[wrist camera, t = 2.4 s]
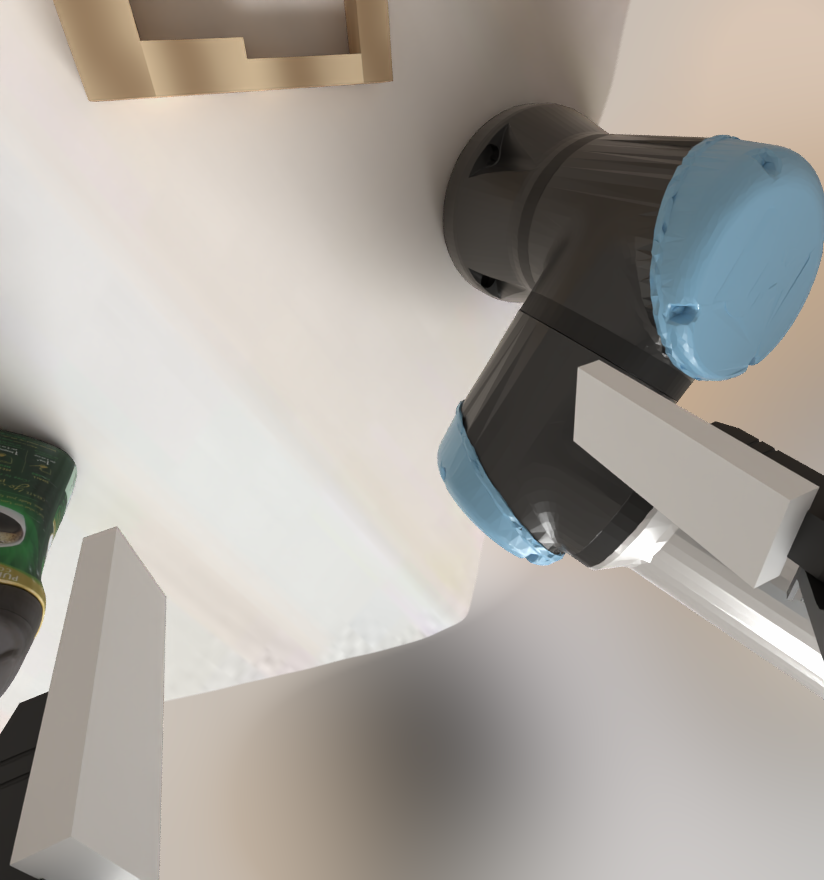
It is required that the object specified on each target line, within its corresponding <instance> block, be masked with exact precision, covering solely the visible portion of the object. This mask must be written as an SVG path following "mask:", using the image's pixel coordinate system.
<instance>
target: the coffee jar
mask: <svg viewBox="0 0 824 880" xmlns="http://www.w3.org/2000/svg"><path fill="white" fill-rule="evenodd" d="M76 477H77V469H76V465H75V463H74V461H73V459H72V458H71V457H70V456H69V455H68V454H67V453H66V452H64V451H63V450H61V449H59V448H57V447H55V446H52V445H50V444H48V443H45V442H42V441H40V440H36V439H34V438H30V437H27V436H24V435H20V434H16V433H13V432H9V431H4V430H0V697H1V696H2V695H3V694H4V692H5V691H6V690H7V688H8V687H9V686H10V684H11V682H12V681H13V679H14V678H15V676H16V674H17V673H18V671H19V669H20V667H21V665H22V663H23V661H24V659H25V657H26V655H27V653H28V651H29V649H30V647H31V645H32V643H33V640H34V638H35V637H36V635H37V634H38V632H39V629H40V627H41V625H42V622H43V619H44V614H45V608H46V597H45V592H44V589H43V586H42V582H41V575H42V571H43V567H44V563H45V560H46V557H47V554H48V551H49V549H50V546H51V544H52V541H53V539H54V537H55V535H56V532H57V530H58V528H59V525H60V523H61V521H62V519H63V516H64V514H65V512H66V509H67V507H68V504H69V501H70V499H71V496H72V493H73V489H74V486H75V481H76Z"/></svg>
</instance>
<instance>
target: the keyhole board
mask: <svg viewBox="0 0 824 880" xmlns="http://www.w3.org/2000/svg"><path fill="white" fill-rule="evenodd" d="M53 2H54V5H55V7H56V10H57V13H58V16H59V19H60V22H61V24H62V27H63V30H64V33H65V36H66V38H67V41H68V44H69V47H70V50H71V52H72V55H73V58H74V61H75V64H76V66H77V69H78V72H79V75H80V78H81V81H82V83H83V86H84V89H85V92H86V95H87V97H88V100H89V101H93V102H97V101H113V100H128V99H143V98H158V97H173V96H188V95H204V94H219V93H234V92H249V91H264V90H279V89H295V88H310V87H325V86H340V85H355V84H370V83H383V82H390V81H393V74H392V59H391V44H390V29H389V14H388V0H344V5H345V15H346V24H347V34H348V43H349V53H350V54H341V55H321V56H300V57H279V58H258V59H247V55H246V50H245V45H244V40H243V37H235V38H207V39H179V40H151V41H141V40H140V37H139V33H138V30H137V26H136V23H135V20H134V16H133V13H132V9H131V6H130V2H129V0H53Z"/></svg>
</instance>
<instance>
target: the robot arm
mask: <svg viewBox="0 0 824 880" xmlns="http://www.w3.org/2000/svg"><path fill="white" fill-rule="evenodd" d="M443 223H444V234H445V240H446V244H447V248H448V251H449V254H450V257H451V259H452V261H453V263H454V265H455V267H456V268H457V270H458V271H459V273H460V274H461V275H462V276H463V278H464V279H465V280H466V281H467V282H468V283H470V284H471V285H472V286H473V287H475V288H477V289H478V290H480V291H482V292H483V293H485V294H487V295H489V296H491V297H493V298H496V299H499V300H502V301H507V302H515V303H521V302H524V304H523V306H522V307H521V309H520V310H519V311H518V313H517V314H516V316H515V318H514V319H513V321H512V323H511V324H510V326H509V328H508V330H507V331H506V333H505V335H504V336H503V338H502V340H501V341H500V343H499V345H498V346H497V348H496V350H495V351H494V353H493V355H492V356H491V358H490V360H489V362H488V363H487V365H486V367H485V368H484V370H483V372H482V373H481V375H480V376H479V378H478V380H477V381H476V383H475V384H474V386H473V388H472V389H471V391H470V393H469V394H468V396H467V397H466V399H465V400H463V401H460V403H459V404H458V406H457V408H456V415H455V417H454V419H453V421H452V423H451V424H450V426H449V428H448V430H447V432H446V434H445V436H444V438H443V439H442V441H441V444H440V446H439V450H438V458H437V459H438V467H439V471H440V475H441V477H442V479H443V481H444V483H445V484H446V487H447V490H448V491H449V493H450V495H451V496H452V498H453V499H454V501H455V502H456V503H457V505H458V506H459V507H460V508H461V510H462V511H463V512H464V513H465V514H466V515H467V516H468V518H469V519H470V520H471V521H472V522H473V523H474V524H475V525H476V526H477V527H478V528H479V529H480V530H481V531H483V532H484V533H485V534H486V535H487V536H488V537H489V538H491V539H492V540H493V541H494V542H496V543H497V544H498V545H500V546H501V547H502V548H504V549H505V550H507V551H508V552H510V553H512V554H513V555H515V556H517V557H519V558H526V559H527V560H528V561H529V562H531V563H533V564H536V565H549V564H552V563H554V562H555V561H558V560H560V559H562V558H563V556H564V554H565V553H568V554H569V555H571V556H572V557H574V558H575V559H577V560H578V561H579V562H581V563H582V564H584V565H585V566H587V567H588V568H590V569H592V570H600V569H607V568H614V567H629V568H630V569H632V570H633V571H635V572H636V573H638V574H639V575H641V576H642V577H643V578H645V579H647V580H648V581H649V582H651V583H652V584H654V585H655V586H657V587H658V588H660V589H661V590H663V591H664V592H666V593H667V594H669V595H670V596H672V597H673V598H675V599H676V600H678V601H679V602H680V603H682V604H683V605H685V606H686V607H688V608H690V609H691V610H692V611H694V612H695V613H697V614H698V615H700V616H701V617H703V618H704V619H706V620H707V621H709V622H710V623H711V624H713V625H715V626H716V627H717V628H719V629H720V630H722V631H723V632H725V633H726V634H728V635H729V636H731V637H732V638H734V639H735V640H737V641H738V642H740V643H741V644H743V645H744V646H746V647H747V648H748V649H750V650H751V651H753V652H754V653H756V654H757V655H759V656H760V657H762V658H763V659H765V660H766V661H768V662H769V663H771V664H772V665H774V666H775V667H776V668H778V669H779V670H781V671H782V672H784V673H785V674H787V675H788V676H790V677H791V678H793V679H794V680H796V681H797V682H799V683H800V684H802V685H803V686H805V687H806V688H807V689H809V690H811V691H812V692H813V693H815V694H816V695H818V696H819V697H821V698H822V699H824V475H822V474H820V473H818V472H816V471H815V470H813V469H811V468H809V467H808V466H806V465H804V464H802V463H800V462H799V461H797V460H795V459H793V458H791V457H790V456H788V455H786V454H784V453H782V452H781V451H779V450H778V451H775V449H774V448H773V447H772V446H770V445H768V444H766V443H764V442H763V441H762V442H759V439H757V438H755V437H754V436H752V435H750V434H748V433H746V432H745V431H743V430H741V429H739V428H736V427H733V426H729V425H726V424H723V423H719V422H713V423H711V424H709V423H708V422H705V421H704V420H702V419H701V418H699V417H697V416H695V415H694V414H692V413H690V412H688V411H687V410H685V409H683V408H682V407H680V406H678V405H676V403H677V402H678V400H679V399H680V398H681V396H682V395H683V394H684V393H685V391H686V390H687V389H688V387H689V386H690V385H691V383H692V382H693V381H694V380H695V379H696V380H699V381H700V380H705V381H709V380H710V381H722V380H727V379H730V378H733V377H737V376H739V375H741V374H743V373H744V372H745V371H746V370H747V367H748V365H755V364H758V363H759V362H760V361H762V360H763V359H764V358H765V357H766V356H767V355H768V354H769V353H770V352H771V351H772V350H773V349H774V348H775V347H776V346H777V344H778V343H779V342H780V341H781V340H782V338H783V337H784V336H785V334H786V333H787V332H788V330H789V329H790V327H791V326H792V324H793V323H794V321H795V319H796V317H797V316H798V314H799V312H800V311H801V309H802V307H803V305H804V303H805V301H806V299H807V297H808V295H809V292H810V290H811V287H812V285H813V283H814V280H815V277H816V274H817V271H818V268H819V265H820V261H821V257H822V253H823V251H822V250H823V242H824V192H823V189H822V185H821V183H820V180H819V178H818V176H817V174H816V172H815V170H814V169H813V168H812V166H811V165H810V164H809V163H808V162H807V161H806V160H805V159H804V158H803V157H802V156H801V155H799V154H798V153H796V152H794V151H792V150H790V149H788V148H785V147H782V146H777V145H771V144H764V143H757V142H751V141H744V140H740V139H738V138H737V137H731V136H729V135H716V136H713V137H711V138H704V137H677V136H650V135H623V134H622V135H620V134H609V133H607V132H606V131H604V130H603V129H602V128H600V127H599V126H598V125H596V124H595V123H593V122H592V121H591V120H589V119H588V118H587V117H585V116H584V115H582V114H581V113H579V112H578V111H576V110H574V109H571V108H569V107H566V106H562V105H558V104H549V103H546V104H525V105H520V106H516V107H513V108H510V109H508V110H506V111H503V112H502V113H500V114H498V115H496V116H495V117H494V118H492V119H491V120H489V121H488V122H487V123H486V124H485V125H484V126H482V127H481V128H480V129H479V130H478V131H477V132H476V134H475V135H474V136H473V137H472V138H471V140H470V141H469V142H468V144H467V145H466V146H465V148H464V150H463V151H462V153H461V155H460V156H459V158H458V160H457V162H456V164H455V167H454V169H453V172H452V174H451V177H450V180H449V183H448V187H447V191H446V196H445V202H444V213H443ZM674 400H675V401H674ZM676 401H677V402H676ZM165 627H166V595H165V594H164V593H163V591H162V590H161V588H160V587H159V585H158V584H157V583H156V581H155V580H154V578H153V577H152V575H151V574H150V573H149V571H148V570H147V568H146V567H145V565H144V564H143V562H142V561H141V560H140V558H139V557H138V555H137V554H136V552H135V551H134V550H133V548H132V547H131V545H130V544H129V542H128V541H127V540H126V538H125V537H124V535H123V534H122V532H121V531H120V530H119V528H118V527H117V526H116V527H113V528H110V529H108V530H105V531H102V532H99V533H96V534H93V535H90V536H87V537H84V538H83V542H82V546H81V550H80V555H79V559H78V564H77V568H76V573H75V577H74V581H73V586H72V590H71V595H70V599H69V604H68V608H67V613H66V617H65V621H64V626H63V630H62V635H61V639H60V644H59V648H58V653H57V657H56V661H55V666H54V670H53V675H52V679H51V684H50V688H49V692H46V693H44V694H41V695H39V696H36V697H34V698H31V699H29V700H27V701H24V702H22V703H20V704H19V705H18V707H17V708H16V710H15V712H14V713H13V715H12V716H11V718H10V720H9V721H8V723H7V724H6V726H5V727H4V729H3V731H2V732H1V734H0V880H159V870H160V869H159V867H160V829H161V789H162V749H163V748H162V747H163V746H162V745H163V707H164V705H163V704H164V668H165Z"/></svg>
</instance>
